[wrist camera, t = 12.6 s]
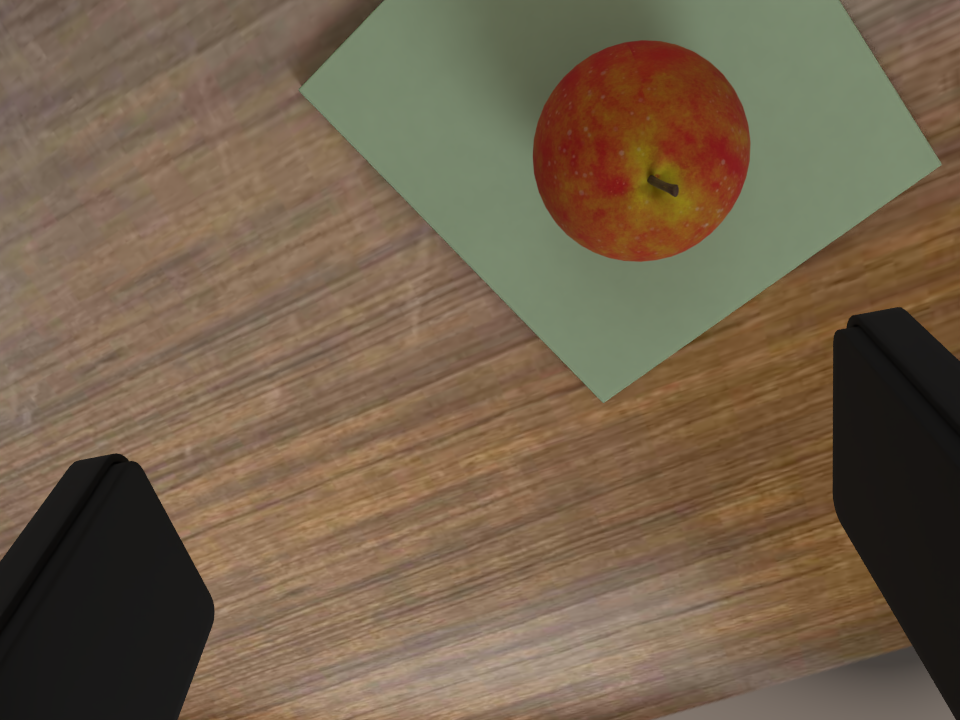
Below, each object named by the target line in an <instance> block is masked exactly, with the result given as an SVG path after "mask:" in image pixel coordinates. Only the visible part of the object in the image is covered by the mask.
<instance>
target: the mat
mask: <svg viewBox="0 0 960 720" xmlns="http://www.w3.org/2000/svg"><path fill="white" fill-rule="evenodd" d="M639 40H648V41H662V42H667V43H671V44H676V45H679V46H681V47H684V48H686V49H689V50H691V51H693V52H695V53H697V54H699V55H700V56H702V57H703V58H705V59H706V60H708V61H709V62H711V63H712V64H713V65H714V66H715V67H716V68H717V69H718V70H719V71H720V72H721V73H723V74H724V76H725V77H726V79H727V80H728V81H729V83H730V84H731V85H732V87H733V88H734V89H735V91H736V93H737V95H738V97H739V99H740V101H741V103H742V105H743V108H744V111H745V115H746V118H747V121H748V126H749V134H750V142H751V145H750V162H749V167H748V171H747V176H746V180H745V182H744V185H743V188H742V190H741V193H740V195H739V197H738V199H737V201H736V202H735V204H734V206H733V208H732V209H731V211H730V212H729V213H728V215H727V216H726V217H725V219H724V220H723V221H722V223H721V224H720V225H719V226H718V227H717V228H716V229H715V230H714V231H713V232H712V233H711V234H710V235H708V236H707V237H706V238H705V239H703V240H702V241H701V242H700V243H698V244H697V245H695V246H693V247H691V248H690V249H688V250H686V251H684V252H682V253H679V254H677V255H674V256H672V257H667V258H663V259H659V260H653V261H643V262H635V261H622V260H617V259H612V258H608V257H605V256H602V255H599V254H596V253H594V252H592V251H590V250H588V249H587V248H585V247H583V246H581V245H579V244H578V243H577V242H576V241H574V240H573V239H572V238H570V237H569V236H568V235H567V234H566V233H565V232H564V231H563V230H562V229H561V228H560V227H559V226H558V225H557V224H556V222H555V221H554V220H553V218H552V216H551V215H550V213H549V212H548V210H547V209H546V207H545V205H544V203H543V200H542V198H541V196H540V194H539V191H538V187H537V183H536V179H535V176H534V167H533V144H534V136H535V132H536V127H537V123H538V120H539V117H540V115H541V112H542V110H543V107H544V105H545V103H546V101H547V100H548V98H549V96H550V95H551V93H552V91H553V90H554V89H555V87H556V86H557V85H558V84H559V82H560V81H561V80H562V79H563V77H564V76H565V75H566V74H568V73H569V72H570V71H571V70H572V69H573V68H574V67H575V66H576V65H577V64H579V63H580V62H582V61H583V60H585V59H586V58H588V57H589V56H591V55H592V54H595V53H597V52H599V51H601V50H603V49H605V48H607V47H611V46H614V45H617V44H621V43H624V42H632V41H639ZM299 91H300V92H301V93H302V95H303V96H304V97H305V98H306V99H307V100H308V101H309V102H310V103H311V104H312V105H313V106H314V107H315V108H316V109H317V110H318V111H319V112H320V113H321V114H322V115H323V116H324V117H325V118H326V119H327V120H328V121H329V122H330V123H331V124H332V125H333V126H334V127H335V128H336V129H337V130H338V131H339V132H340V133H341V135H342V136H343V137H344V138H345V139H346V140H347V141H348V142H349V143H350V144H351V145H352V146H353V147H354V148H355V149H356V150H357V151H358V152H359V153H360V154H361V155H362V156H363V157H364V158H365V159H366V160H367V161H368V162H369V163H370V164H371V165H372V166H373V167H374V168H375V169H376V170H377V171H378V172H379V174H380V175H381V176H382V177H383V178H384V179H385V180H386V181H387V182H388V183H389V184H390V185H391V186H392V187H393V188H394V189H395V190H396V191H397V192H398V193H399V194H400V195H401V196H402V197H403V198H404V199H405V200H406V201H407V202H408V203H409V204H410V205H411V206H412V207H413V208H414V209H415V210H416V211H417V212H418V214H419V215H420V216H421V217H422V218H423V219H424V220H425V221H426V222H427V223H428V224H429V225H430V226H431V227H432V228H433V229H434V230H435V231H436V232H437V233H438V234H439V235H440V236H441V237H442V238H443V239H444V240H445V241H446V242H447V243H448V244H449V245H450V246H451V247H452V248H453V249H454V250H455V251H456V253H457V254H458V255H459V256H460V257H461V258H462V259H463V260H464V261H465V262H466V263H467V264H468V265H469V266H470V267H471V268H472V269H473V270H474V271H475V272H476V273H477V274H478V275H479V276H480V277H481V278H482V279H483V280H484V281H485V282H486V283H487V284H488V285H489V286H490V287H491V288H492V289H493V290H494V291H495V293H496V294H497V295H498V296H499V297H500V298H501V299H502V300H503V301H504V302H505V303H506V304H507V305H508V306H509V307H510V308H511V309H512V310H513V311H514V312H515V313H516V314H517V315H518V316H519V317H520V318H521V319H522V320H523V321H524V322H525V323H526V324H527V325H528V326H529V327H530V328H531V329H532V330H533V332H534V333H535V334H536V335H537V336H538V337H539V338H540V339H541V340H542V341H543V342H544V343H545V344H546V345H547V346H548V347H549V348H550V349H551V350H552V351H553V352H554V353H555V354H556V355H557V356H558V357H559V358H560V359H561V360H562V361H563V362H564V363H565V364H566V365H567V366H568V367H569V368H570V369H571V370H572V372H573V373H574V374H575V375H576V376H577V377H578V378H579V379H580V380H581V381H582V382H583V383H584V384H585V385H586V386H587V387H588V388H589V389H590V390H591V391H592V392H593V393H594V394H595V395H596V396H597V397H598V398H599V399H600V400H601V401H602V402H603V403H604V402H606V401H607V400H608V399H610V398H611V397H613V396H614V395H615V394H617V393H618V392H620V391H621V390H623V389H624V388H625V387H627V386H628V385H630V384H631V383H632V382H634V381H635V380H637V379H638V378H640V377H641V376H642V375H644V374H645V373H647V372H648V371H650V370H651V369H652V368H654V367H655V366H657V365H658V364H659V363H661V362H662V361H664V360H665V359H667V358H668V357H669V356H671V355H672V354H674V353H675V352H676V351H678V350H679V349H681V348H682V347H684V346H685V345H686V344H688V343H689V342H691V341H692V340H694V339H695V338H696V337H698V336H699V335H701V334H702V333H703V332H705V331H706V330H708V329H709V328H711V327H712V326H713V325H715V324H716V323H718V322H719V321H720V320H722V319H723V318H725V317H726V316H728V315H729V314H730V313H732V312H733V311H735V310H736V309H737V308H739V307H740V306H742V305H743V304H745V303H746V302H747V301H749V300H750V299H752V298H753V297H755V296H756V295H757V294H759V293H760V292H762V291H763V290H764V289H766V288H767V287H769V286H770V285H772V284H773V283H774V282H776V281H777V280H779V279H780V278H781V277H783V276H784V275H786V274H787V273H789V272H790V271H791V270H793V269H794V268H796V267H797V266H799V265H800V264H801V263H803V262H804V261H806V260H807V259H808V258H810V257H811V256H813V255H814V254H816V253H817V252H818V251H820V250H821V249H823V248H824V247H825V246H827V245H828V244H830V243H831V242H833V241H834V240H835V239H837V238H838V237H840V236H841V235H843V234H844V233H845V232H847V231H848V230H850V229H851V228H852V227H854V226H855V225H857V224H858V223H860V222H861V221H862V220H864V219H865V218H867V217H868V216H869V215H871V214H872V213H874V212H875V211H877V210H878V209H879V208H881V207H882V206H884V205H885V204H887V203H888V202H889V201H891V200H892V199H894V198H895V197H896V196H898V195H899V194H901V193H902V192H904V191H905V190H906V189H908V188H909V187H911V186H912V185H913V184H915V183H916V182H918V181H919V180H921V179H922V178H923V177H925V176H926V175H928V174H929V173H931V172H932V171H933V170H935V169H936V168H938V167H939V166H940V165H941V162H940V161H939V159H938V157H937V156H936V154H935V153H934V151H933V149H932V148H931V146H930V145H929V143H928V141H927V140H926V138H925V137H924V135H923V133H922V132H921V130H920V129H919V127H918V125H917V124H916V122H915V121H914V119H913V117H912V116H911V114H910V113H909V111H908V109H907V108H906V106H905V105H904V103H903V101H902V100H901V98H900V97H899V95H898V93H897V92H896V90H895V89H894V87H893V85H892V84H891V82H890V81H889V79H888V77H887V76H886V74H885V73H884V71H883V69H882V68H881V66H880V65H879V63H878V61H877V60H876V58H875V57H874V55H873V53H872V52H871V50H870V49H869V47H868V45H867V44H866V42H865V41H864V39H863V37H862V36H861V34H860V33H859V31H858V29H857V28H856V26H855V25H854V23H853V21H852V20H851V18H850V17H849V15H848V13H847V12H846V10H845V9H844V7H843V5H842V4H841V2H840V1H839V0H384V1H383V2H382V3H381V4H380V5H379V6H378V7H377V8H376V9H375V10H374V11H373V12H372V13H371V14H370V15H369V16H368V17H367V18H366V19H365V20H364V21H363V23H362V24H361V25H360V26H359V27H358V28H357V29H356V30H355V31H354V32H353V33H352V34H351V35H350V36H349V37H348V38H347V39H346V40H345V41H344V42H343V43H342V44H341V46H340V47H339V48H338V49H337V50H336V51H335V52H334V53H333V54H332V55H331V56H330V57H329V58H328V59H327V60H326V61H325V62H324V63H323V64H322V65H321V66H320V68H319V69H318V70H317V71H316V72H315V73H314V74H313V75H312V76H311V77H310V78H309V79H308V80H307V81H306V82H305V83H304V84H303V85H302V86H301V87H300V88H299Z"/></svg>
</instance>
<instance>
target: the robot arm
mask: <svg viewBox="0 0 960 720" xmlns="http://www.w3.org/2000/svg"><path fill="white" fill-rule="evenodd" d="M833 501H834V506H835V510H836V513H837V516H838V518H839V521H840V523H841V525H842V526H843V528H844V530H845V531H846V533H847V535H848V537H849V538H850V540H851V542H852V543H853V545H854V547H855V548H856V550H857V552H858V554H859V555H860V557H861V559H862V560H863V562H864V564H865V565H866V567H867V569H868V571H869V572H870V574H871V576H872V577H873V579H874V581H875V582H876V584H877V586H878V588H879V589H880V591H881V593H882V594H883V596H884V598H885V599H886V601H887V603H888V605H889V606H890V608H891V610H892V611H893V613H894V615H895V617H896V618H897V620H898V622H899V623H900V625H901V627H902V628H903V630H904V632H905V634H906V635H907V637H908V639H909V640H910V642H911V644H912V645H913V647H914V649H915V651H916V652H917V654H918V656H919V657H920V659H921V661H922V662H923V664H924V666H925V668H926V669H927V671H928V673H929V674H930V676H931V678H932V679H933V681H934V683H935V685H936V686H937V688H938V690H939V691H940V693H941V694H942V697H943V698H944V700H945V702H946V703H947V705H948V707H949V708H950V710H951V712H952V714H953V715H954V717H955V719H956V720H960V361H959V360H958V359H957V358H956V357H955V356H953V355H952V354H951V353H950V352H949V351H948V350H947V349H946V348H945V347H944V346H943V345H942V344H941V343H940V342H939V341H938V340H937V339H935V338H934V337H933V336H932V335H931V334H930V333H929V332H928V331H927V330H926V329H925V328H924V327H923V326H922V325H921V324H920V323H919V322H917V321H916V320H915V319H914V318H913V317H912V316H911V315H910V314H909V313H908V312H907V311H906V310H904V309H903V308H901V307H896V308H891V309H886V310H880V311H875V312H870V313H864V314H859V315H853V316H851V317H850V318H849V321H848V323H847V328H846V329H841V330H837V331H836V332H835V335H834V341H833ZM213 621H214V604H213V600H212V597H211V595H210V593H209V591H208V589H207V587H206V586H205V584H204V582H203V580H202V578H201V576H200V574H199V573H198V571H197V569H196V567H195V565H194V563H193V561H192V560H191V558H190V556H189V554H188V552H187V550H186V548H185V547H184V545H183V543H182V541H181V539H180V537H179V535H178V534H177V532H176V530H175V528H174V526H173V524H172V522H171V521H170V519H169V517H168V515H167V513H166V511H165V509H164V508H163V506H162V504H161V502H160V500H159V498H158V496H157V495H156V493H155V491H154V489H153V487H152V485H151V484H150V482H149V480H148V478H147V476H146V474H145V472H144V471H143V469H142V468H141V466H140V465H139V464H138V463H136V462H134V461H129V460H128V459H127V458H126V457H124V456H123V455H121V454H117V453H116V454H110V455H105V456H100V457H94V458H89V459H84V460H79V461H76V462H74V463H73V464H72V465H71V466H70V467H69V468H68V470H67V471H66V472H65V474H64V475H63V477H62V478H61V479H60V481H59V482H58V483H57V485H56V486H55V488H54V489H53V490H52V492H51V493H50V494H49V496H48V497H47V498H46V500H45V501H44V503H43V504H42V505H41V507H40V508H39V509H38V511H37V512H36V514H35V515H34V516H33V518H32V519H31V520H30V522H29V523H28V524H27V526H26V527H25V529H24V530H23V531H22V533H21V534H20V535H19V537H18V538H17V539H16V541H15V542H14V544H13V545H12V546H11V548H10V549H9V550H8V552H7V553H6V555H5V556H4V557H3V559H2V560H1V561H0V720H177V719H178V717H179V714H180V711H181V709H182V706H183V703H184V701H185V698H186V695H187V693H188V690H189V687H190V684H191V682H192V679H193V676H194V674H195V671H196V668H197V666H198V663H199V660H200V657H201V655H202V652H203V649H204V647H205V644H206V641H207V639H208V636H209V633H210V631H211V628H212V625H213Z"/></svg>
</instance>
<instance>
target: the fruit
mask: <svg viewBox="0 0 960 720" xmlns="http://www.w3.org/2000/svg"><path fill="white" fill-rule="evenodd" d="M750 145H751V142H750V134H749V126H748V121H747V118H746V115H745V111H744V108H743V105H742V103H741V101H740V99H739V97H738V95H737V93H736V91H735V89H734V88H733V87H732V85H731V84H730V83H729V81H728V80H727V79H726V77H725V76H724V74H723V73H721V72H720V71H719V70H718V69H717V68H716V67H715V66H714V65H713V64H712V63H711V62H709V61H708V60H706V59H705V58H703V57H702V56H700V55H699V54H697V53H695V52H693V51H691V50H689V49H686V48H684V47H681V46H679V45H676V44H671V43H667V42H662V41H648V40H639V41H632V42H624V43H621V44H617V45H614V46H611V47H607V48H605V49H603V50H601V51H599V52H597V53H595V54H592V55H591V56H589V57H588V58H586V59H585V60H583V61H582V62H580V63H579V64H577V65H576V66H575V67H574V68H573V69H572V70H571V71H570V72H569V73H568V74H566V75H565V76H564V77H563V79H562V80H561V81H560V82H559V84H558V85H557V86H556V87H555V89H554V90H553V91H552V93H551V95H550V96H549V98H548V100H547V101H546V103H545V105H544V107H543V110H542V112H541V115H540V117H539V120H538V123H537V127H536V132H535V136H534V144H533V167H534V176H535V179H536V183H537V187H538V191H539V194H540V196H541V198H542V200H543V203H544V205H545V207H546V209H547V210H548V212H549V213H550V215H551V216H552V218H553V220H554V221H555V222H556V224H557V225H558V226H559V227H560V228H561V229H562V230H563V231H564V232H565V233H566V234H567V235H568V236H569V237H570V238H572V239H573V240H574V241H576V242H577V243H578V244H579V245H581V246H583V247H585V248H587V249H588V250H590V251H592V252H594V253H596V254H599V255H602V256H605V257H608V258H612V259H617V260H622V261H635V262H643V261H653V260H659V259H663V258H667V257H672V256H674V255H677V254H679V253H682V252H684V251H686V250H688V249H690V248H691V247H693V246H695V245H697V244H698V243H700V242H701V241H702V240H703V239H705V238H706V237H707V236H708V235H710V234H711V233H712V232H713V231H714V230H715V229H716V228H717V227H718V226H719V225H720V224H721V223H722V221H723V220H724V219H725V217H726V216H727V215H728V213H729V212H730V211H731V209H732V208H733V206H734V204H735V202H736V201H737V199H738V197H739V195H740V193H741V190H742V188H743V185H744V182H745V180H746V176H747V171H748V167H749V162H750Z"/></svg>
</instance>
